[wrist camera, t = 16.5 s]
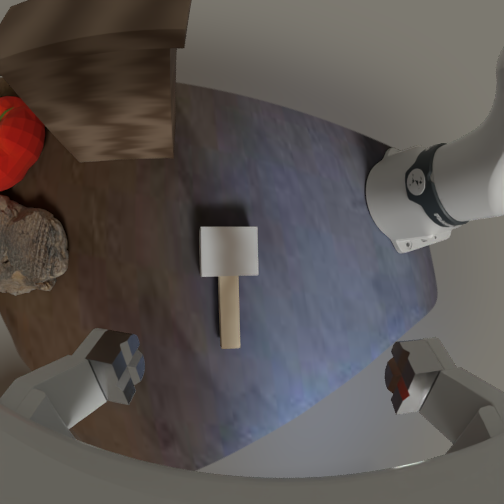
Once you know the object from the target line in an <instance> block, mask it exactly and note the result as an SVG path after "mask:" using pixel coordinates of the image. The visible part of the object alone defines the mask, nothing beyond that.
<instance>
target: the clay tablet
mask: <svg viewBox="0 0 504 504" xmlns="http://www.w3.org/2000/svg"><path fill="white" fill-rule="evenodd" d="M67 267H68V251H67V238H66V234H65V231H64V229H63V226H62V224H61V223H60V222H59V221H58V220H57V219H55V218H54V217H53V214H51V213H50V212H48V211H46V210H44V209H40V208H32V207H30V208H27V207H24V206H23V205H20V204H18V203H17V202H15V201H13V200H10V199H9V197H7V196H4V195H0V292H2V293H4V292H5V293H7V292H9V293H11V294H14V295H19V294H23V293H30V292H31V290H34V289H40V290H44V291H50V290H51V289H52V288H53V286H54V284H55V282H56V278H55V277H58V276H60V275H62V274H63V273H64V272H65V271H66V270H67Z"/></svg>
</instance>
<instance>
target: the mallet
mask: <svg viewBox="0 0 504 504" xmlns="http://www.w3.org/2000/svg"><path fill="white" fill-rule="evenodd" d="M199 253H200V276H201V277H213V276H218V293H219V323H220V346H221V348H222V349H231V348H240V320H239V281H238V276H248V275H258V234H257V227H201V228H200V230H199Z"/></svg>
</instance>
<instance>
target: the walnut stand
mask: <svg viewBox="0 0 504 504" xmlns="http://www.w3.org/2000/svg"><path fill="white" fill-rule="evenodd" d="M190 6H191V0H27V1H25V2H22V3H19V4H17V5H14V6H11V7H10V9H9V10H8V12H7V14H6V15H5V17H4V18H3V20H2V22H1V24H0V76H2V77H3V78H4V79H5V80H6V82H7V83H8V84H9V85H10V86H11V87H12V89H13V90H14V91H15V92H16V93H17V94H18V96H19V97H20V98H21V99H22V100H23V101H24V103H25V104H26V105H27V106H28V107H29V108H30V109H31V111H32V112H33V113H34V114H35V115H36V116H37V117H38V118H39V119H40V121H41V122H42V123H43V124H44V125H45V126H46V127H47V128H48V129H49V130H50V132H51V133H52V134H53V135H54V136H55V137H56V138H57V139H58V140H59V141H60V142H61V143H62V144H63V145H64V146H65V148H66V149H67V150H68V151H69V152H70V153H71V154H72V155H73V156H74V157H75V158H76V159H77V160H78V161H79V162H92V161H105V160H122V159H147V158H174V140H175V124H176V50H177V48H184V46H185V39H186V31H187V25H188V18H189V12H190Z"/></svg>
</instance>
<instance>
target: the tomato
mask: <svg viewBox="0 0 504 504" xmlns="http://www.w3.org/2000/svg"><path fill="white" fill-rule="evenodd" d="M44 140H45V126H44V124H43V123H42V122H41V121H40V119H39V118H38V117H37V116H36V115H35V114H34V113H33V112H32V111H31V109H30V108H29V107H28V106H27V105H26V104H25V103H24V101H23V100H22V99H21V98H19V97H13V96H5V97H0V191H2V190H6V189H9V188H10V187H12V186H14V185H15V184H17V183H18V182H20V181H21V180H22V179H23V178H24V176H25V174H26V173H27V171H28V170H29V168H30V167H31V166H32V165H33V164H34V163H35V162H36V161H37V160H38V159H39V156H40V154H41V152H42V149H43V146H44Z"/></svg>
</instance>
